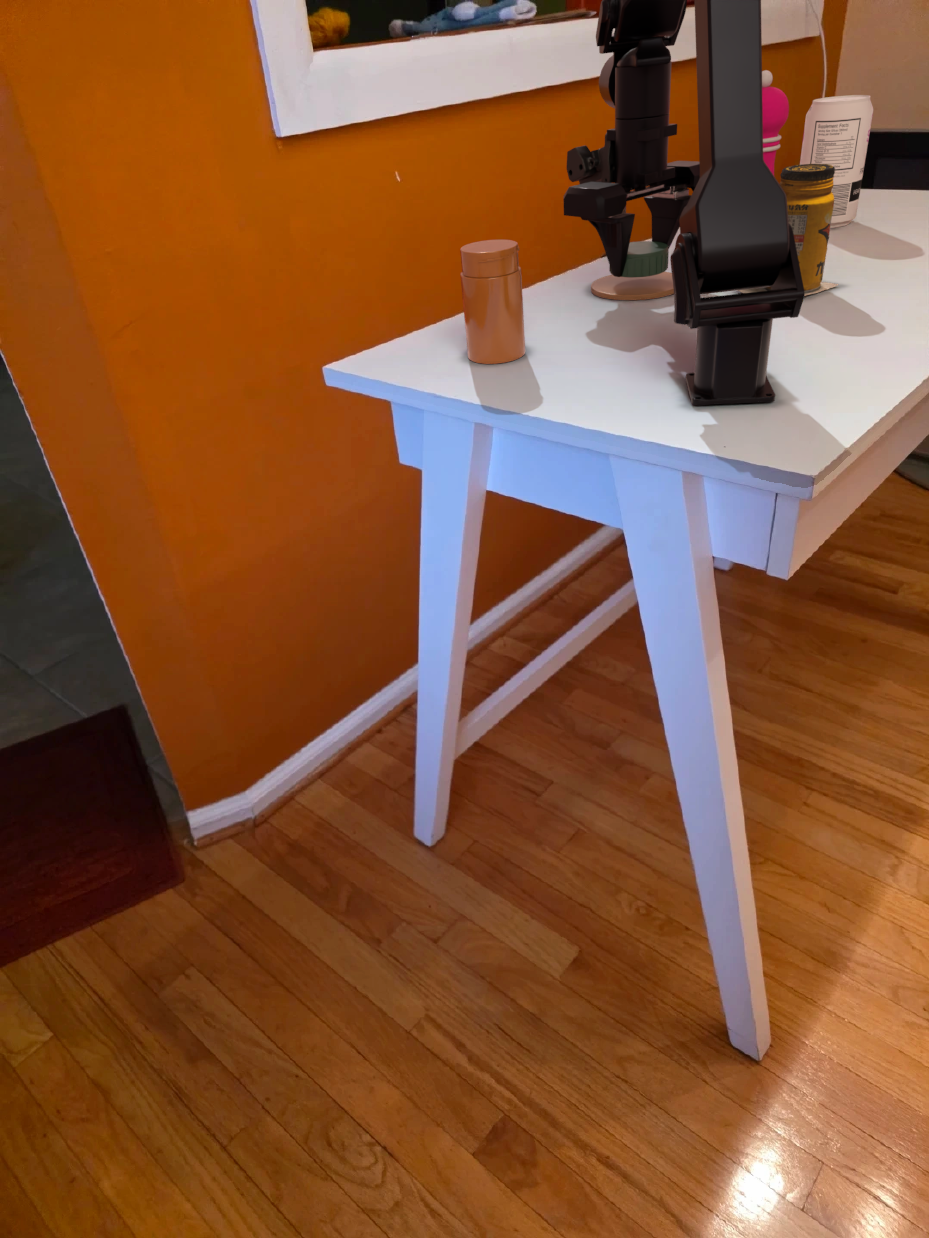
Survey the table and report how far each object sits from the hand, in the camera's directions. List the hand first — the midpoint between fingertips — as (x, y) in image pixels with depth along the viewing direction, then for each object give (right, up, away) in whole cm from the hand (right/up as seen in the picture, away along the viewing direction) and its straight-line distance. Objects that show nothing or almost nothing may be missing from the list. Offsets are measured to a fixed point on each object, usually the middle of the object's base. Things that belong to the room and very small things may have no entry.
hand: (637, 270), depth 97 cm
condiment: (+15, -5, -5) cm, 17 cm away
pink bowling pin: (+15, +4, +7) cm, 17 cm away
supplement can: (+30, +15, +19) cm, 39 cm away
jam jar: (-17, -15, -14) cm, 27 cm away
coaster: (0, -2, +1) cm, 2 cm away
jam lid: (0, +2, -1) cm, 2 cm away
